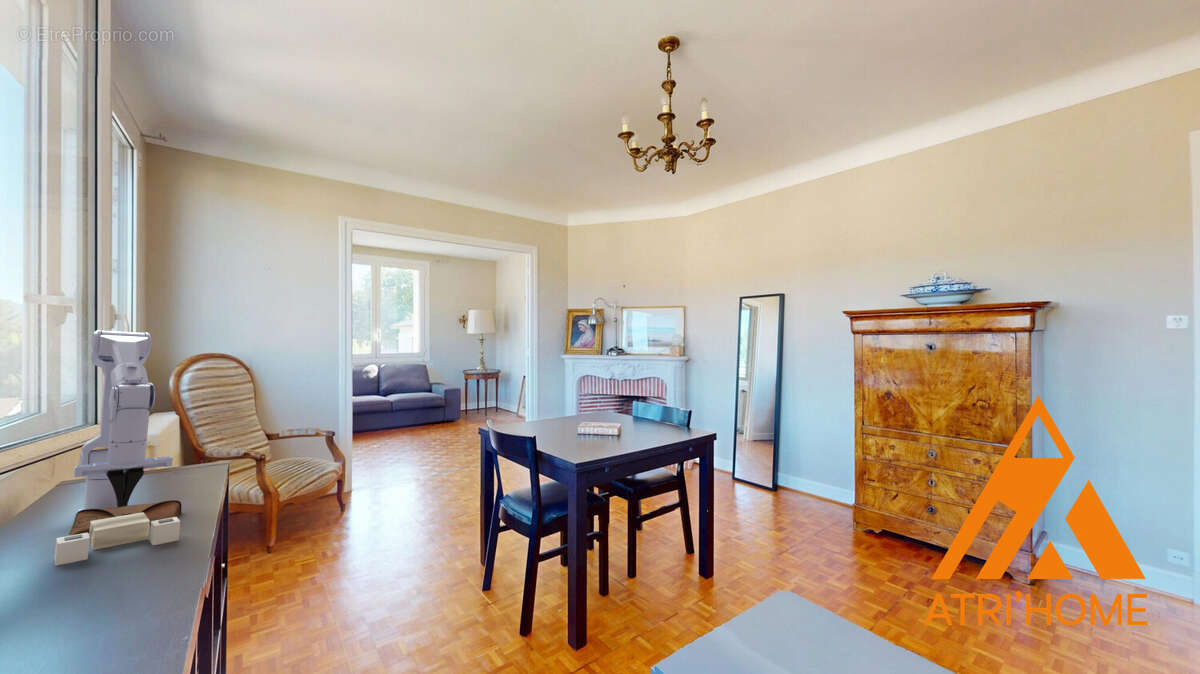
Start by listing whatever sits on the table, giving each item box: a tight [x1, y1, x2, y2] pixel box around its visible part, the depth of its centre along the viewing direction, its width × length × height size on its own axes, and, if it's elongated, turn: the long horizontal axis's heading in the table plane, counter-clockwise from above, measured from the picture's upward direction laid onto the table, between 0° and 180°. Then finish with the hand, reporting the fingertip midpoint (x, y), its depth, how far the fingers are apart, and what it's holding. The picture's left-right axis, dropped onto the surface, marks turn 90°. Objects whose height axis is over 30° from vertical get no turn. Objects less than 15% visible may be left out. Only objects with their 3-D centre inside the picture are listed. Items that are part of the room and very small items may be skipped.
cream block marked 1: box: [53, 533, 90, 567], centre depth 88 cm, size 4×4×4 cm
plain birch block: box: [89, 512, 151, 551], centre depth 97 cm, size 8×8×4 cm
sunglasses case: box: [67, 499, 183, 536], centre depth 106 cm, size 18×7×7 cm
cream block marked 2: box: [148, 517, 181, 546], centre depth 98 cm, size 4×4×4 cm
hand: (121, 505), depth 98 cm, fingers closed
